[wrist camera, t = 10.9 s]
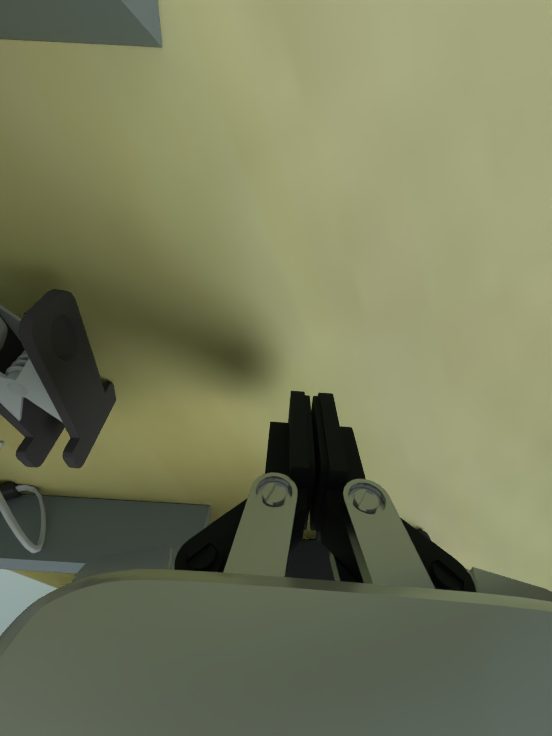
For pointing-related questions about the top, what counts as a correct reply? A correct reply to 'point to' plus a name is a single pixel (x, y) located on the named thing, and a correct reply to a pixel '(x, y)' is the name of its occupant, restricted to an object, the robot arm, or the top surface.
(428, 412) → the top surface
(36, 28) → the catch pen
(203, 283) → the top surface
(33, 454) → the clip-on lamp
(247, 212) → the top surface
